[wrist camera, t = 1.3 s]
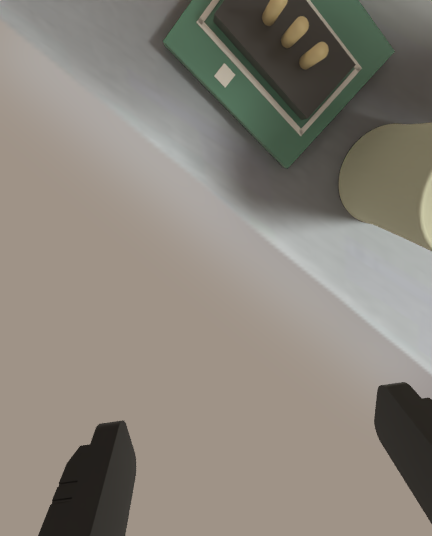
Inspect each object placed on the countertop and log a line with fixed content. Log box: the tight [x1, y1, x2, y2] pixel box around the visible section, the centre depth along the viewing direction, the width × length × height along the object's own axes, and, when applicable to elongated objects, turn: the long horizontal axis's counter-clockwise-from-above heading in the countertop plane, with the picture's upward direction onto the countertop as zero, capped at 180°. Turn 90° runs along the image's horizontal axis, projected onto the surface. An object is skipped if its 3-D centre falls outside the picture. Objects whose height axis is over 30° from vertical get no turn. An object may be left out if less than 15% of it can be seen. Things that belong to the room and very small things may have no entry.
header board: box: [163, 0, 395, 169], centre depth 23 cm, size 12×14×6 cm
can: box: [338, 123, 432, 251], centre depth 24 cm, size 9×9×12 cm
